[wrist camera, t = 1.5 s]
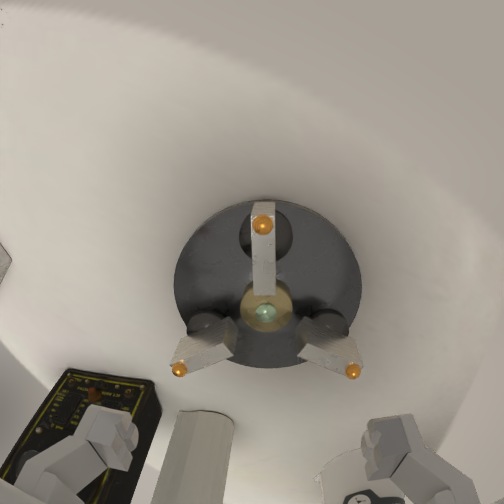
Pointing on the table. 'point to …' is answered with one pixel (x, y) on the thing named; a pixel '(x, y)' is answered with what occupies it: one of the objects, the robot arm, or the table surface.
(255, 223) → the grey lever knob
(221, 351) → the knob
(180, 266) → the plate
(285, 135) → the table surface
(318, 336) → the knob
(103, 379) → the voltmeter
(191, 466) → the paper towel roll
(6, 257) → the supplement box
